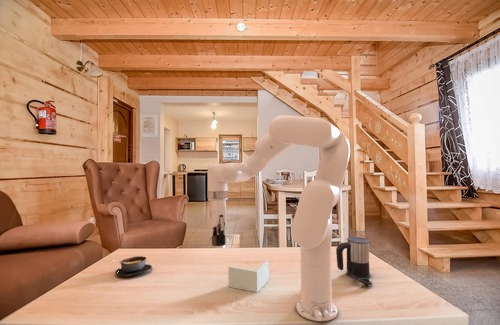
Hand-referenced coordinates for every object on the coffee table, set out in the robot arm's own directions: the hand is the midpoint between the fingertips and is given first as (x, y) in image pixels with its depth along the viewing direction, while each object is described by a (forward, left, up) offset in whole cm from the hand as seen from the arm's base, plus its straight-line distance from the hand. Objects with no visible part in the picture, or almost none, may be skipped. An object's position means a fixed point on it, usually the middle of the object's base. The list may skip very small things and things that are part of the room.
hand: (218, 242), depth 102 cm
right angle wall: (+4, -11, -17) cm, 21 cm away
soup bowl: (+15, +41, -17) cm, 46 cm away
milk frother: (+8, -56, -17) cm, 60 cm away
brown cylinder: (0, 0, -1) cm, 1 cm away
